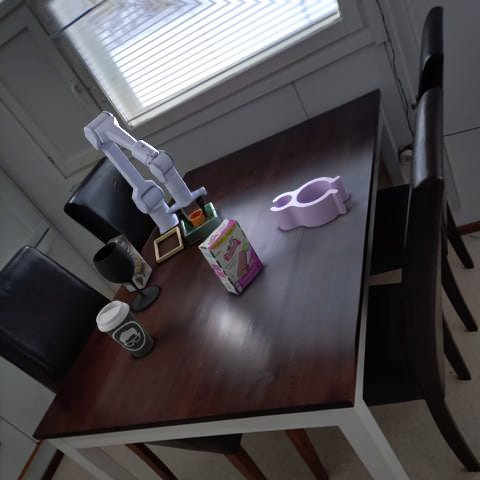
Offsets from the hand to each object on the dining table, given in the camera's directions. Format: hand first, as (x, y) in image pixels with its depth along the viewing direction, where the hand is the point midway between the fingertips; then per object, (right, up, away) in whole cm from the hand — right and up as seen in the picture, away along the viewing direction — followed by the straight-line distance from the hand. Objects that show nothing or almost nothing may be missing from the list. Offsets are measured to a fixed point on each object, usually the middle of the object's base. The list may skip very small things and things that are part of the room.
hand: (199, 221), depth 154 cm
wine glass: (-16, -27, -11) cm, 33 cm away
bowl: (+1, -1, +1) cm, 2 cm away
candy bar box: (+16, -23, -31) cm, 42 cm away
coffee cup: (-13, -41, -29) cm, 52 cm away
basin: (+1, -2, +2) cm, 3 cm away
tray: (-11, -8, +5) cm, 14 cm away
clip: (+35, -4, -26) cm, 43 cm away
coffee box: (-19, -20, -1) cm, 28 cm away
